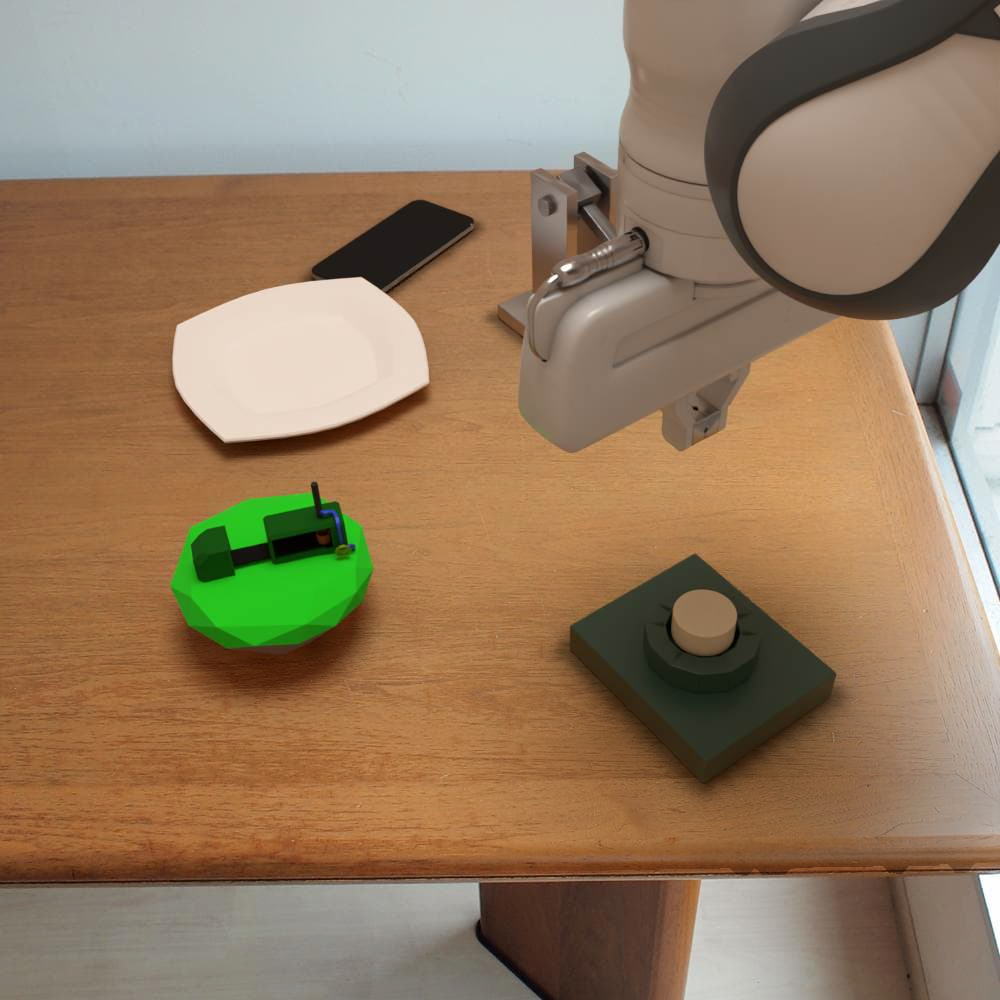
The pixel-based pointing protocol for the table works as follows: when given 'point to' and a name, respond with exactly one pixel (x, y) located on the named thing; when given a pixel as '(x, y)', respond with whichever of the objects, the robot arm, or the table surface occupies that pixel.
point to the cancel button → (703, 622)
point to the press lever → (589, 203)
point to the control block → (701, 670)
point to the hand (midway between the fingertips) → (693, 434)
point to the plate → (298, 359)
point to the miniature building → (272, 572)
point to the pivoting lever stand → (559, 228)
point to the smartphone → (396, 245)
